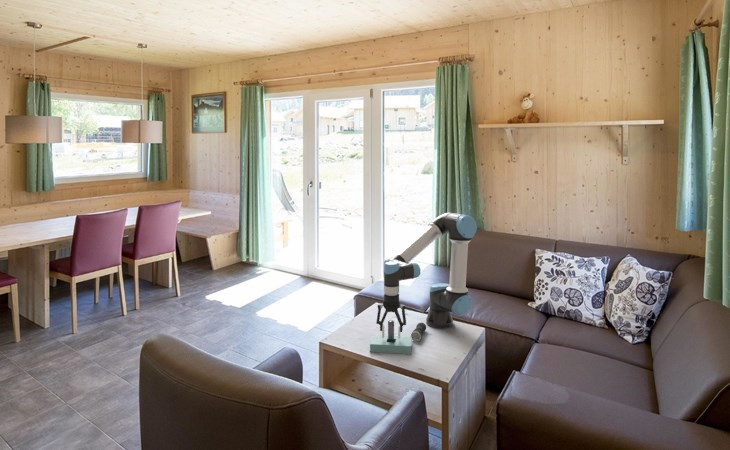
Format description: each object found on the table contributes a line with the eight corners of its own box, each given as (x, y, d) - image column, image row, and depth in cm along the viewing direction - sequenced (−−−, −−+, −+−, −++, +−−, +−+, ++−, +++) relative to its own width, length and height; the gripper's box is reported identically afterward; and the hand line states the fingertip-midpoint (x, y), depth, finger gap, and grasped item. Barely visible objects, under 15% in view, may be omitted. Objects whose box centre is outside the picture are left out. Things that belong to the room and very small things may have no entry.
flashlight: (417, 330, 245) (417, 320, 244) (426, 331, 243) (426, 322, 243) (410, 340, 231) (410, 331, 230) (420, 342, 229) (420, 332, 228)
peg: (394, 346, 224) (394, 320, 221) (393, 349, 221) (393, 322, 218) (388, 346, 224) (388, 320, 222) (387, 349, 221) (387, 322, 219)
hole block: (411, 344, 226) (411, 337, 226) (410, 354, 215) (410, 346, 215) (372, 342, 229) (372, 335, 228) (370, 351, 218) (370, 344, 218)
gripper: (412, 291, 220) (411, 335, 224) (371, 290, 223) (372, 333, 226) (411, 296, 213) (411, 341, 216) (370, 295, 215) (370, 339, 219)
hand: (391, 337), depth 221 cm, fingers open, 7 cm apart
